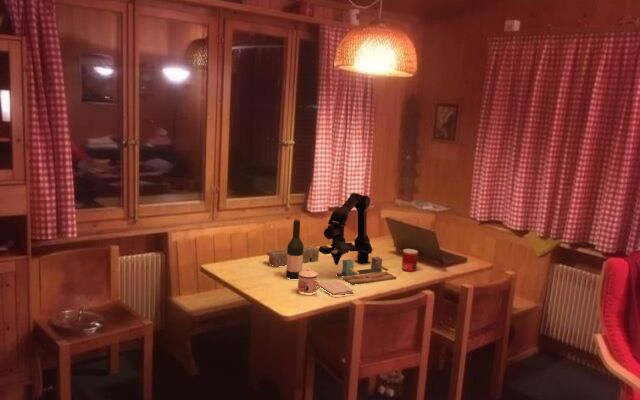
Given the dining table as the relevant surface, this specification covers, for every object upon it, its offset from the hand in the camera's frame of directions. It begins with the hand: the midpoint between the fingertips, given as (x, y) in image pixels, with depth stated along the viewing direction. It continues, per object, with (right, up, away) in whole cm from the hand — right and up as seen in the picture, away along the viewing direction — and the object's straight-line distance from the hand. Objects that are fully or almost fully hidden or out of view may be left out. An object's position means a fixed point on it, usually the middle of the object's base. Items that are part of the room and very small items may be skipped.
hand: (336, 264), depth 291 cm
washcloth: (-1, -11, -19) cm, 22 cm away
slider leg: (+8, -6, +1) cm, 10 cm away
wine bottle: (-21, -6, -4) cm, 23 cm away
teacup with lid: (-13, -11, -24) cm, 30 cm away
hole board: (+17, -7, 0) cm, 19 cm away
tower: (-23, -2, +21) cm, 31 cm away
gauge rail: (+14, -6, +5) cm, 16 cm away
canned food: (+40, -5, +19) cm, 45 cm away
